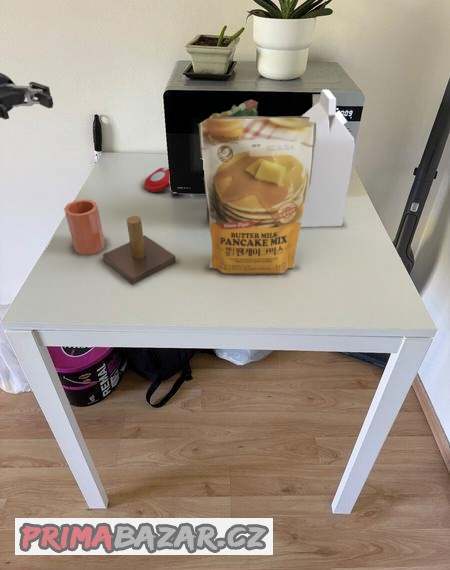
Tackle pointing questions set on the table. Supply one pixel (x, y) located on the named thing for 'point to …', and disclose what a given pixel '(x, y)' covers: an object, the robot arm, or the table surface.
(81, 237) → the faceted terracotta cup
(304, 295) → the table surface
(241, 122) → the pancake mix bag
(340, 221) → the milk
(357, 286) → the table surface
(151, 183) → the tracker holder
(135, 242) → the ring stand
